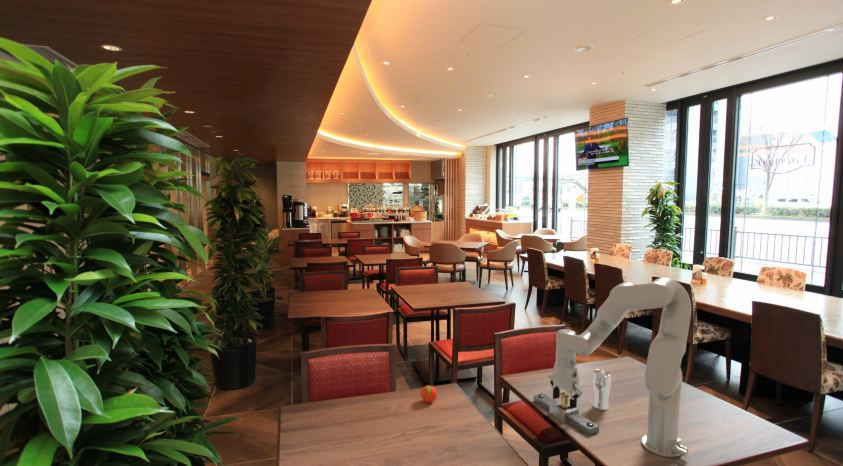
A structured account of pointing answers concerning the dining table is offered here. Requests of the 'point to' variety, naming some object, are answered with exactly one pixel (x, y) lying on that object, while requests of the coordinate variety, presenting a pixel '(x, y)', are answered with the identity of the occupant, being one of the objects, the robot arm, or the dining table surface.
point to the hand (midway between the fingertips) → (564, 402)
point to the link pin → (564, 400)
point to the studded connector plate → (567, 414)
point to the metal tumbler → (601, 388)
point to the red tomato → (428, 394)
